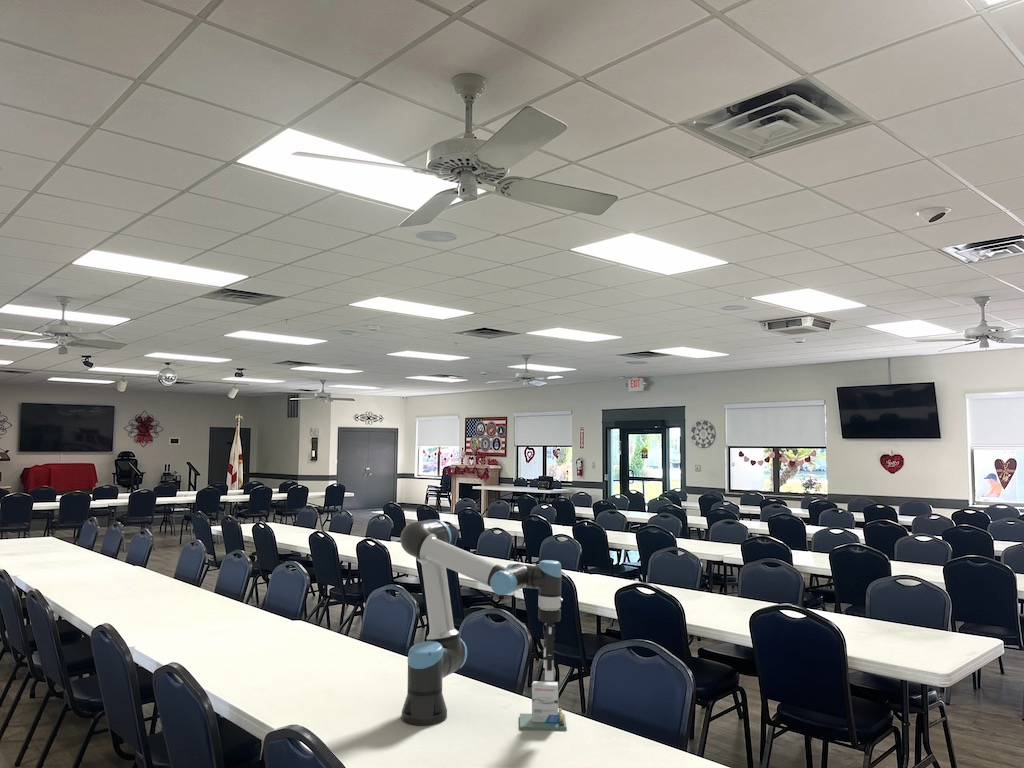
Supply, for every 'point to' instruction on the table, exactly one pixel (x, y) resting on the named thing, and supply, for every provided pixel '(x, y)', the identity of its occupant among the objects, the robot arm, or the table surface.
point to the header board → (542, 723)
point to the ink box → (545, 702)
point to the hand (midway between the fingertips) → (548, 673)
